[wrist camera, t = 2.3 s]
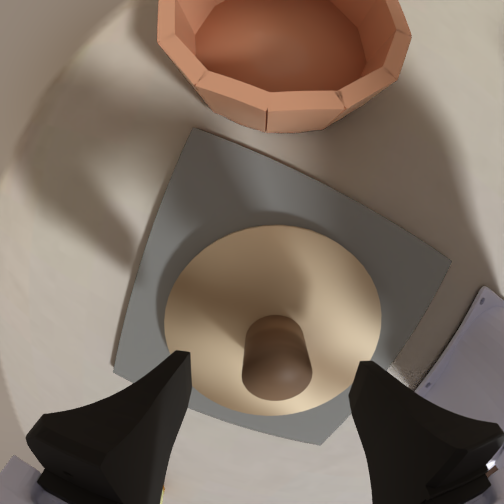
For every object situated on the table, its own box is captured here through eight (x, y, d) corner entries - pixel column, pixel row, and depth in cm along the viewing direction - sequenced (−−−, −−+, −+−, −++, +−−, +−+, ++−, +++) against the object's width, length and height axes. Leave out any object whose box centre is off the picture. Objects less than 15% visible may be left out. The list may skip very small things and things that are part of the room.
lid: (312, 423, 16) (319, 464, 13) (148, 367, 16) (125, 406, 12) (411, 279, 14) (447, 305, 10) (214, 185, 13) (195, 186, 9)
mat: (319, 441, 17) (320, 445, 17) (115, 369, 16) (113, 372, 16) (448, 259, 14) (452, 261, 13) (195, 128, 13) (193, 127, 12)
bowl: (333, 167, 13) (365, 160, 9) (153, 95, 12) (113, 66, 8) (390, 30, 11) (423, -6, 6) (235, -29, 10) (227, -75, 6)
